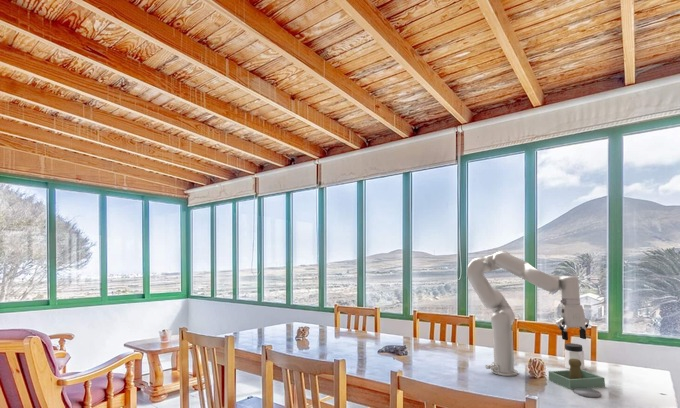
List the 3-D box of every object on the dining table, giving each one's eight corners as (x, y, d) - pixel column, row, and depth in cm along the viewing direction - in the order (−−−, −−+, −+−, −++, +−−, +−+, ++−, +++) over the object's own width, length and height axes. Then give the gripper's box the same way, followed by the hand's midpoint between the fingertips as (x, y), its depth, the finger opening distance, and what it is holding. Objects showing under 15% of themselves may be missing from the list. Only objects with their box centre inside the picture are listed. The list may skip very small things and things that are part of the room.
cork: (569, 380, 196) (568, 356, 198) (584, 382, 193) (582, 358, 194) (568, 383, 191) (566, 359, 193) (583, 386, 188) (581, 361, 189)
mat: (586, 398, 172) (586, 396, 172) (568, 390, 182) (568, 388, 182) (606, 397, 174) (606, 394, 174) (588, 389, 184) (588, 387, 184)
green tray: (570, 389, 184) (569, 380, 184) (548, 380, 197) (548, 371, 198) (605, 386, 187) (604, 377, 187) (581, 377, 201) (581, 369, 201)
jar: (578, 371, 211) (577, 347, 213) (562, 367, 218) (561, 344, 219) (587, 368, 216) (585, 345, 217) (571, 365, 223) (570, 342, 224)
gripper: (560, 303, 191) (563, 341, 189) (592, 302, 194) (596, 339, 192) (549, 302, 198) (552, 338, 196) (580, 300, 202) (584, 336, 200)
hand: (574, 339), depth 194 cm, fingers open, 9 cm apart
